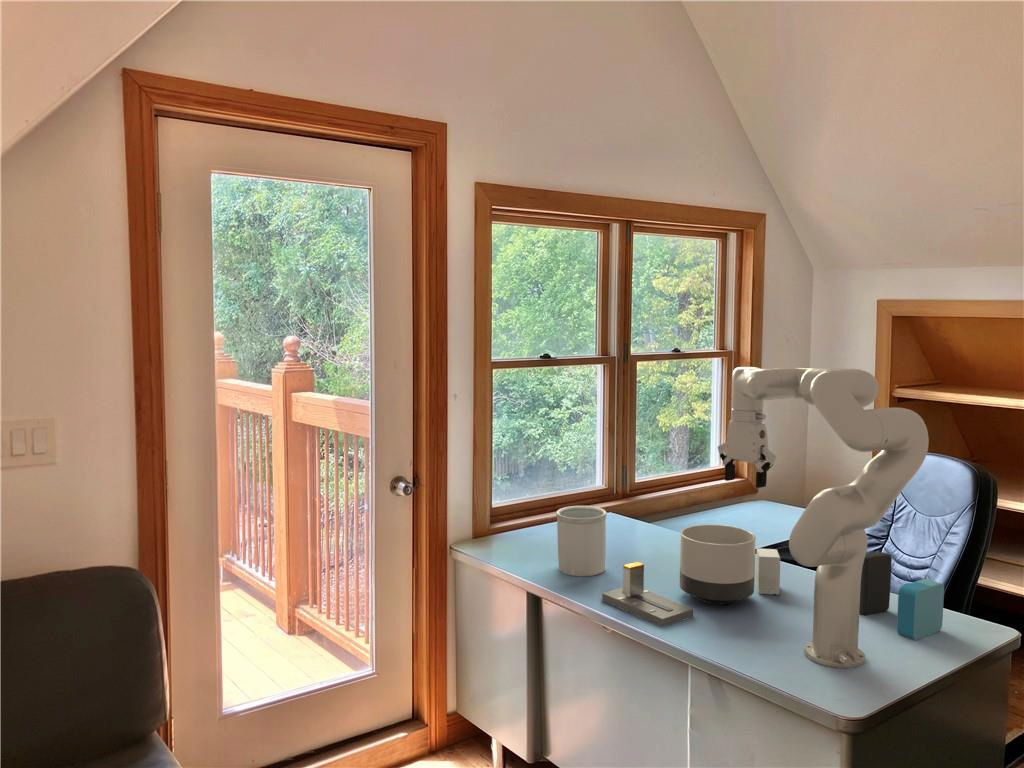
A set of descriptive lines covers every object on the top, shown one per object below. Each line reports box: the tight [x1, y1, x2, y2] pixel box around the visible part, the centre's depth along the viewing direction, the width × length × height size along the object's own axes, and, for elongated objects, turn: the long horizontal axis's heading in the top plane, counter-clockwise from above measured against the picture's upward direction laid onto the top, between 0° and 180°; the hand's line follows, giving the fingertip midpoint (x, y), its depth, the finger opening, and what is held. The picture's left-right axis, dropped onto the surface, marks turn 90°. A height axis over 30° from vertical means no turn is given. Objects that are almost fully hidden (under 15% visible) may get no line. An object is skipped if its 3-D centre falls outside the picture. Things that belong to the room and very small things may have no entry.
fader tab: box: [622, 561, 645, 597], centre depth 219 cm, size 2×5×8 cm, turn 126°
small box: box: [755, 547, 781, 596], centre depth 229 cm, size 8×6×10 cm
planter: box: [679, 524, 756, 605], centre depth 222 cm, size 19×19×18 cm
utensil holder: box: [555, 505, 607, 577], centre depth 246 cm, size 15×15×18 cm
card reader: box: [859, 551, 893, 616], centre depth 213 cm, size 9×4×15 cm, turn 111°
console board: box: [601, 587, 695, 628], centre depth 216 cm, size 22×11×2 cm, turn 36°
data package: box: [896, 578, 945, 641], centre depth 199 cm, size 12×4×12 cm, turn 123°
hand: (745, 483), depth 211 cm, fingers open, 9 cm apart
